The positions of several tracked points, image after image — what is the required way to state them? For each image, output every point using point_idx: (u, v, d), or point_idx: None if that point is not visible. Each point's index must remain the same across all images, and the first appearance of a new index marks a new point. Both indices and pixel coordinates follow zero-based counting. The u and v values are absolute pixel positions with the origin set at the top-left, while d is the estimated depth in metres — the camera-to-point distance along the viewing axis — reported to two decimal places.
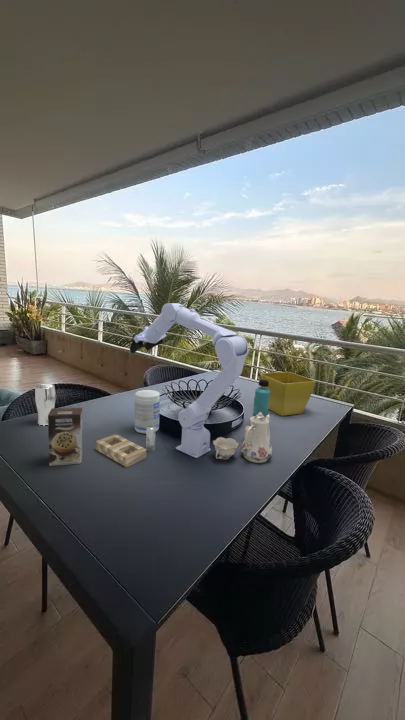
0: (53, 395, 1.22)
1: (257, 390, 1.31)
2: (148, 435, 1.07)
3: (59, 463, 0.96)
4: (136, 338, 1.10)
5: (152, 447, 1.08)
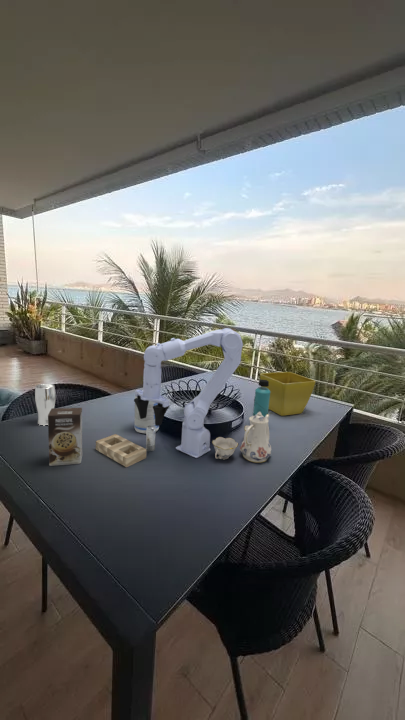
0: (53, 395, 1.22)
1: (257, 390, 1.31)
2: (148, 435, 1.07)
3: (59, 463, 0.96)
4: (167, 402, 1.02)
5: (152, 447, 1.08)
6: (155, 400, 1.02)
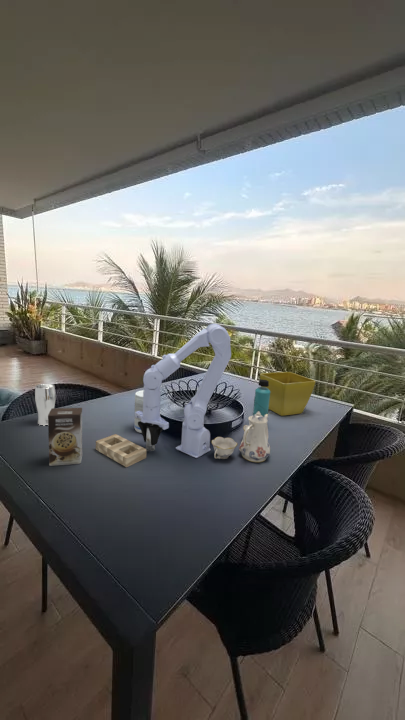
0: (53, 395, 1.22)
1: (257, 390, 1.31)
2: (148, 435, 1.07)
3: (59, 463, 0.96)
4: (166, 425, 1.03)
5: (152, 447, 1.08)
6: (155, 422, 1.04)
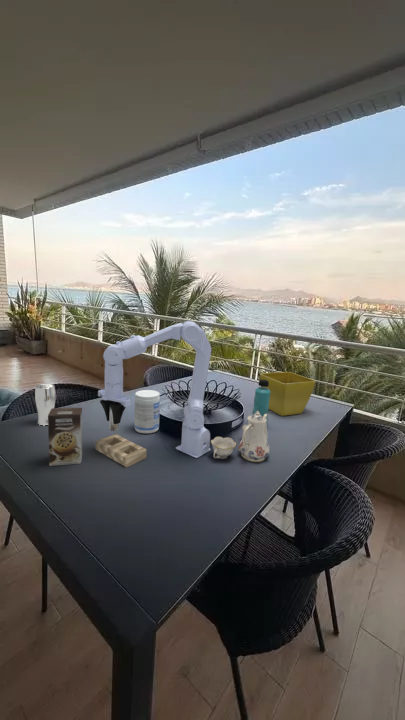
0: (53, 395, 1.22)
1: (257, 390, 1.31)
2: (110, 414, 1.04)
3: (59, 463, 0.96)
4: (128, 402, 1.00)
5: (114, 427, 1.05)
6: (116, 400, 1.00)
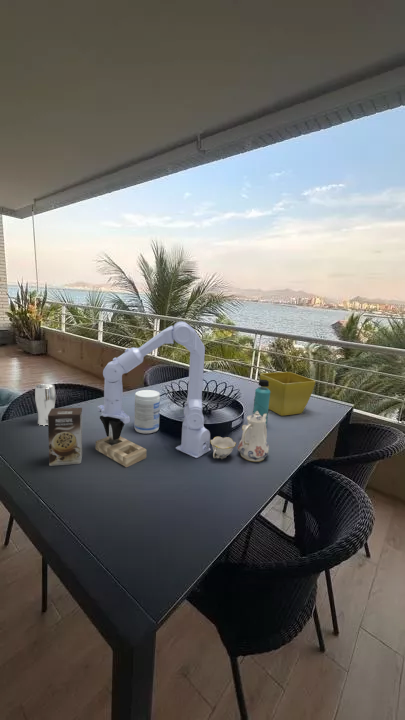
0: (53, 395, 1.22)
1: (257, 390, 1.31)
2: (110, 430, 1.05)
3: (59, 463, 0.96)
4: (127, 419, 1.01)
5: (114, 442, 1.06)
6: (115, 416, 1.01)
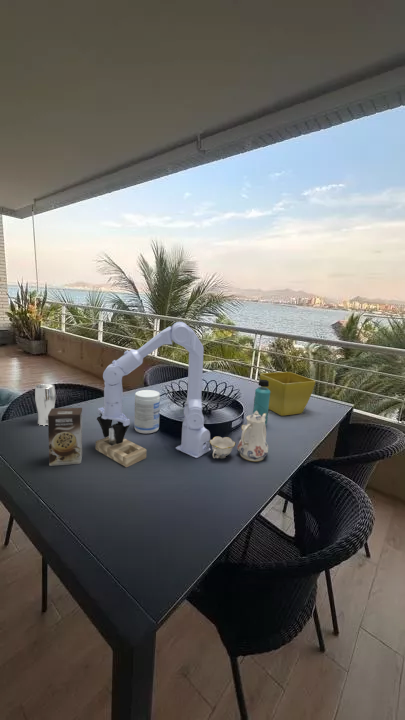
0: (53, 395, 1.22)
1: (257, 390, 1.31)
2: (110, 435, 1.06)
3: (59, 463, 0.96)
4: (127, 421, 1.01)
5: None
6: (115, 419, 1.02)
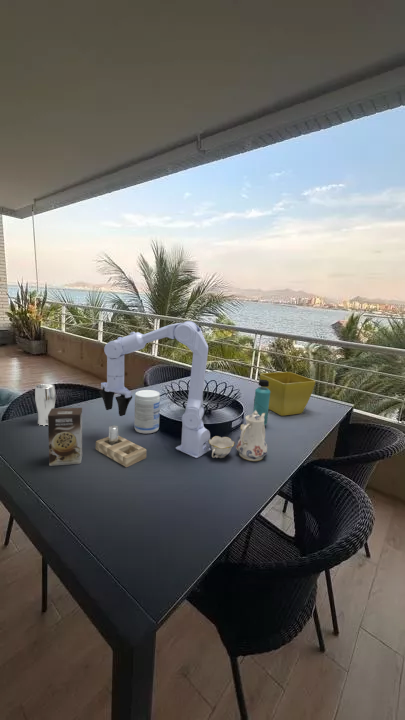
0: (53, 395, 1.22)
1: (257, 390, 1.31)
2: (110, 435, 1.06)
3: (59, 463, 0.96)
4: (129, 393, 1.07)
5: None
6: (118, 391, 1.07)
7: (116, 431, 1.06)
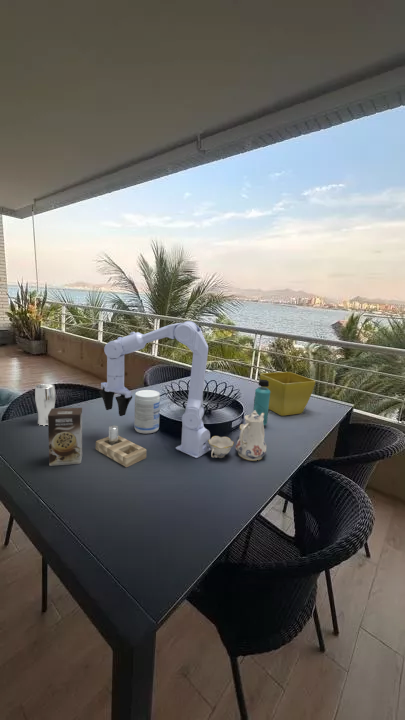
0: (53, 395, 1.22)
1: (257, 390, 1.31)
2: (110, 435, 1.06)
3: (59, 463, 0.96)
4: (129, 393, 1.07)
5: None
6: (118, 391, 1.07)
7: (116, 431, 1.06)
